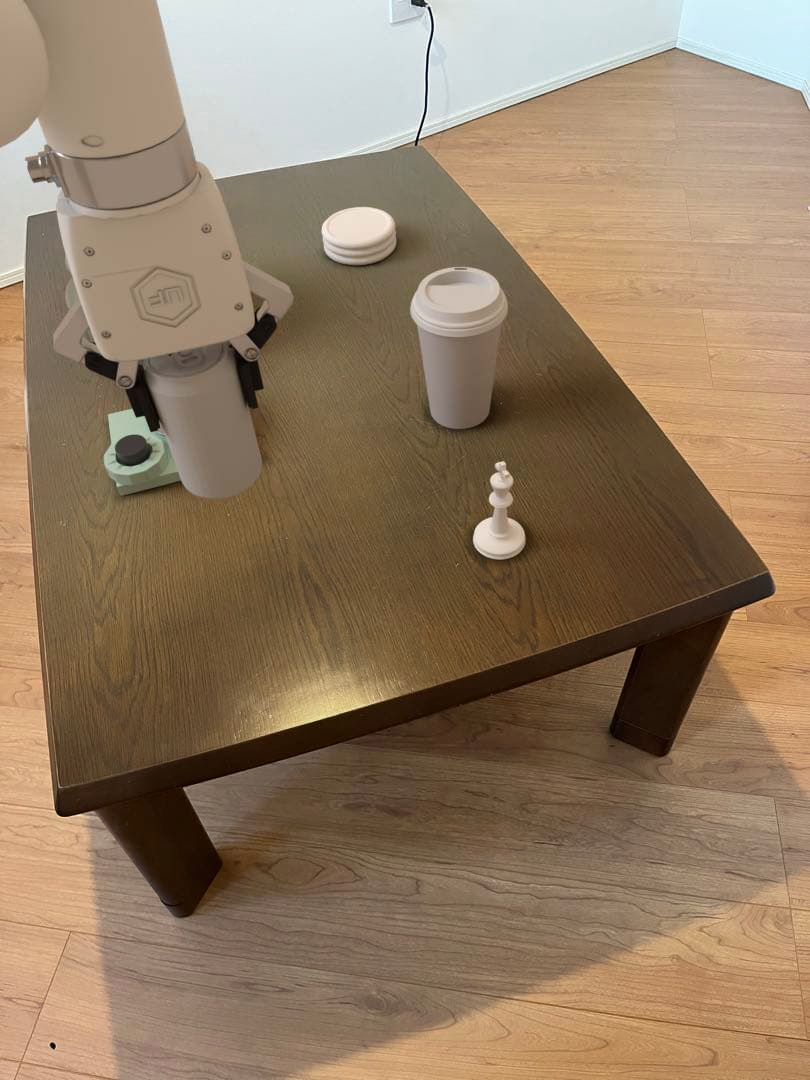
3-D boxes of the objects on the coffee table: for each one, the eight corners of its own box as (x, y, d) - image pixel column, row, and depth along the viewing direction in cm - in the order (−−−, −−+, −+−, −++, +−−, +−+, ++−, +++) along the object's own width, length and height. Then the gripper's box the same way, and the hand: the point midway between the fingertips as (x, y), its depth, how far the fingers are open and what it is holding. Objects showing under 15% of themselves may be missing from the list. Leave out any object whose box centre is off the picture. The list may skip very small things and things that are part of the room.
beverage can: (249, 438, 68) (216, 313, 59) (275, 488, 64) (244, 362, 55) (174, 464, 67) (128, 339, 58) (195, 516, 63) (150, 391, 54)
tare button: (120, 470, 84) (115, 458, 83) (118, 449, 86) (113, 438, 85) (152, 462, 84) (147, 450, 83) (149, 442, 87) (144, 430, 85)
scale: (115, 501, 85) (106, 480, 83) (106, 424, 93) (97, 404, 91) (255, 465, 87) (249, 444, 85) (234, 394, 95) (229, 372, 93)
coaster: (310, 256, 114) (306, 232, 111) (350, 222, 119) (348, 199, 116) (371, 274, 110) (368, 249, 107) (410, 238, 115) (408, 214, 113)
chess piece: (490, 567, 76) (492, 491, 69) (463, 532, 79) (463, 456, 72) (535, 546, 78) (543, 470, 70) (507, 513, 81) (511, 436, 73)
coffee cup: (517, 395, 92) (524, 274, 81) (481, 449, 87) (483, 327, 75) (440, 373, 95) (436, 254, 84) (400, 423, 90) (391, 304, 79)
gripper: (-36, 223, 43) (83, 470, 57) (290, 162, 46) (330, 413, 59) (-29, 161, 48) (80, 403, 61) (266, 109, 50) (308, 353, 64)
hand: (202, 406), depth 60 cm, fingers closed on beverage can, 6 cm apart
